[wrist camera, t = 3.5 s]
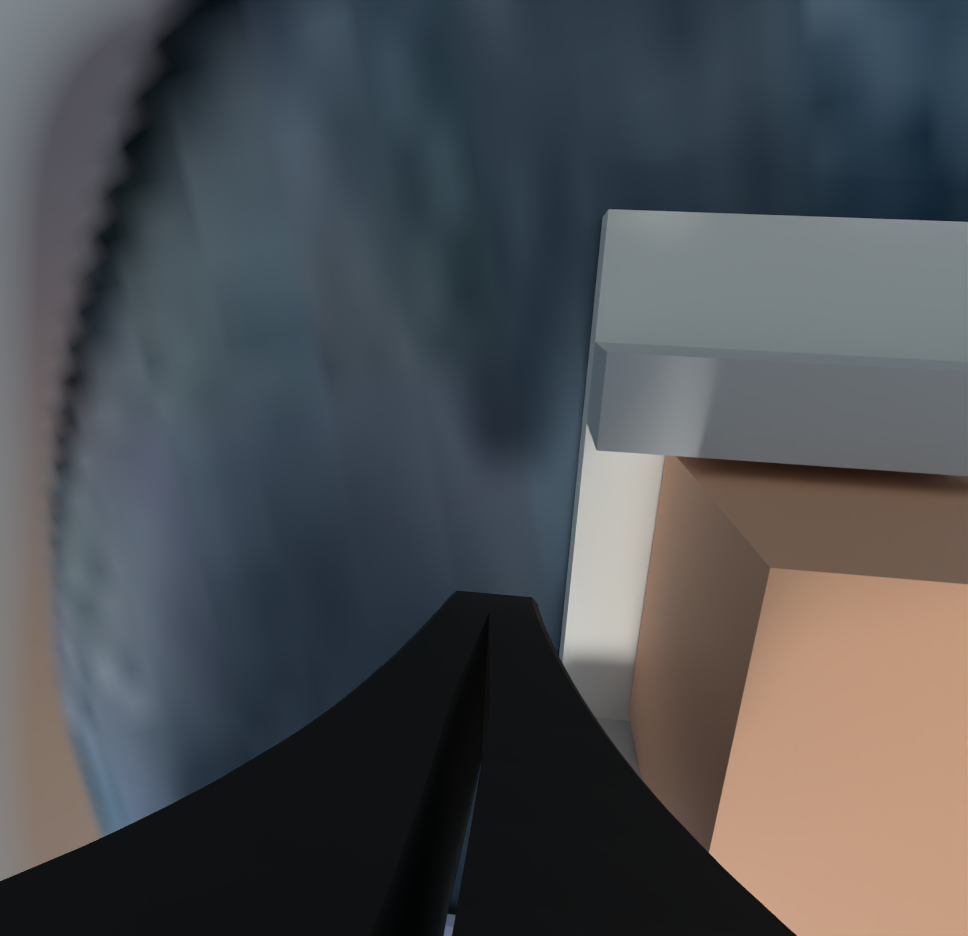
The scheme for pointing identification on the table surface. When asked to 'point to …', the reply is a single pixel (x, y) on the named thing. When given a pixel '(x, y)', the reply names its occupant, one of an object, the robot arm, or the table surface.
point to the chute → (749, 385)
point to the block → (813, 687)
